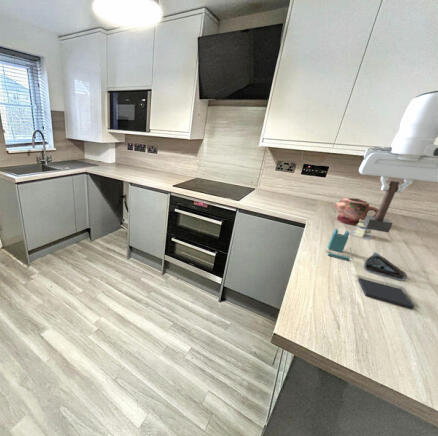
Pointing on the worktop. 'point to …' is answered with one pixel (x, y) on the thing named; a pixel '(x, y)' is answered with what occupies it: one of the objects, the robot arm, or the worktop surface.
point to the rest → (338, 244)
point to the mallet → (382, 211)
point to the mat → (385, 293)
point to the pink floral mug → (353, 210)
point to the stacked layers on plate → (362, 232)
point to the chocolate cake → (384, 267)
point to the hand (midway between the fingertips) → (391, 191)
